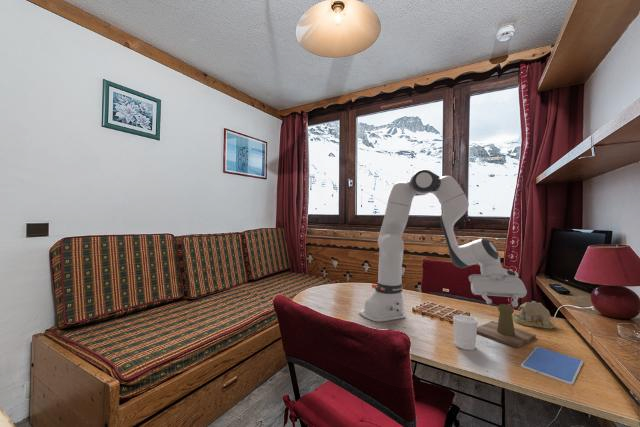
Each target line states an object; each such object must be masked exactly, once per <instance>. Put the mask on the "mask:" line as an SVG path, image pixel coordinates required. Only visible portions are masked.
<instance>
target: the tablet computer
mask: <svg viewBox="0 0 640 427" xmlns="http://www.w3.org/2000/svg"><path fill="white" fill-rule="evenodd" d="M583 365H584V361H583V360H582V359H580V358H576V357H574V356H570V355H567V354H564V353H560V352H557V351H554V350H551V349H547V348H544V347H541V346H540V347H539V346H536V347H535V348H534V349H533V350H532V351H531V352H530V354H529V355H528V356H527V358H525V360H524V361H523V362H522V363H521V365H520V367H521V368H523V369H525V370H528V371H531V372H534V373H536V374H539V375H542V376H545V377H547V378H551V379H553V380H555V379H556V380H555V381H558V380H559V382H561V381H562V382H561V383H564V384H566V385H569V386H573V385H574V384H575V382H576V379H577V377H578V374H579V372H580V370H581V368H582V366H583Z"/></svg>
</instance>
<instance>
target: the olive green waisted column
mask: <svg viewBox="0 0 640 427" xmlns="http://www.w3.org/2000/svg"><path fill="white" fill-rule="evenodd" d="M497 310H498V312H499V313H498V314H499V315H498V319H497V320H498V321H497V323H498V327H497V332H498V333H500V334H503V335H507V336H514V335H515V331H514V328H515V325H514V324H515V323H514V319H513V314H514V310H515V309H514V306H512V305H510V304H507V303H506V304H505V303H500V304H498V307H497Z"/></svg>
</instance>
